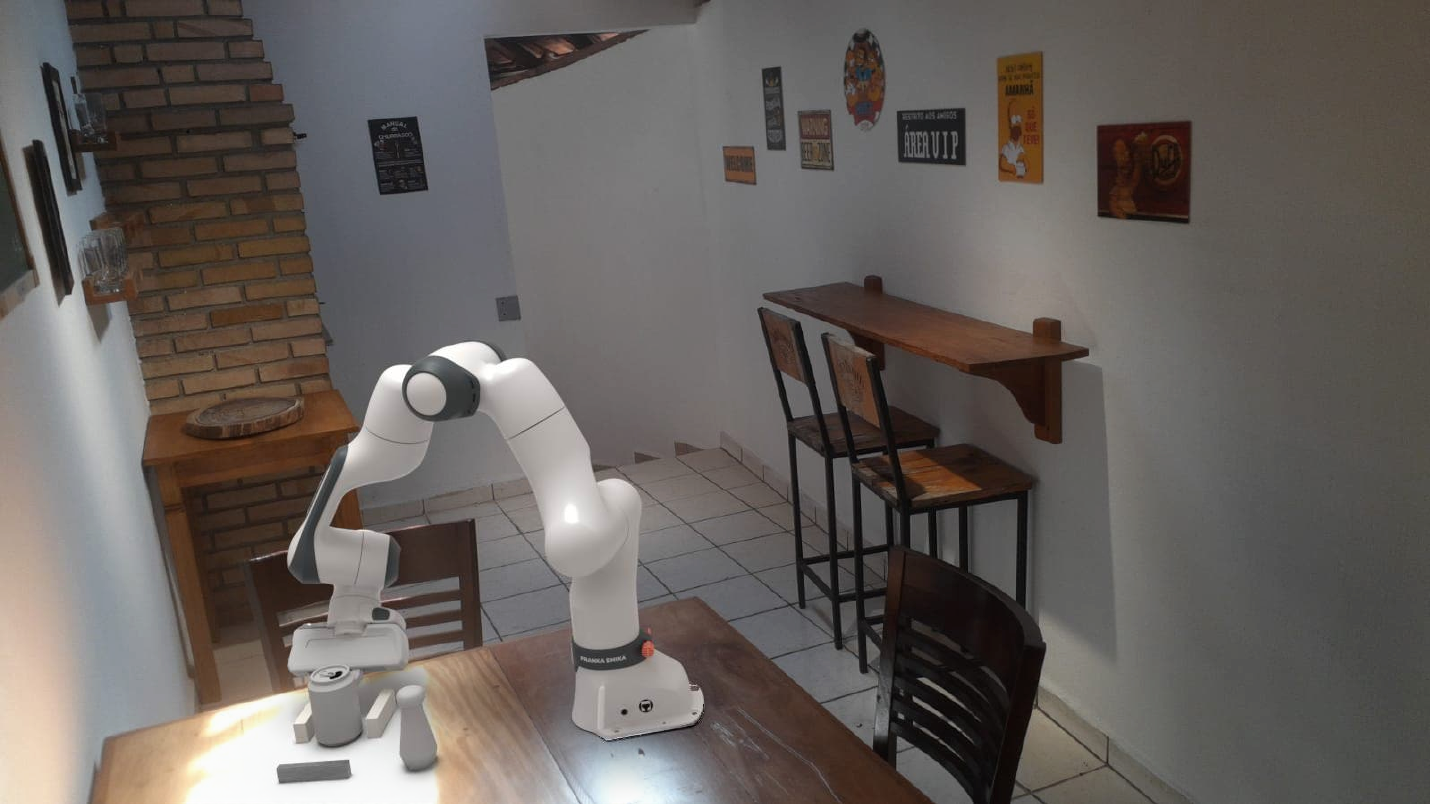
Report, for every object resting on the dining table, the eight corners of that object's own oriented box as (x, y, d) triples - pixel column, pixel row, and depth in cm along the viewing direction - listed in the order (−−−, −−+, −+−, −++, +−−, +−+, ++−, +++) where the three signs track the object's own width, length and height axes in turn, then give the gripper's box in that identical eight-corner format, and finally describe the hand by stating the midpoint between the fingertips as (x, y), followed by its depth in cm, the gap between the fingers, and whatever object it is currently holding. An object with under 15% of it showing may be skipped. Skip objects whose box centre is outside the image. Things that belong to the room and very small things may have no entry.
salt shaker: (446, 759, 172) (436, 685, 169) (419, 777, 168) (408, 701, 165) (421, 750, 176) (410, 677, 173) (393, 768, 171) (382, 693, 168)
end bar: (351, 773, 170) (349, 759, 170) (349, 778, 169) (346, 763, 168) (281, 778, 170) (279, 764, 169) (278, 782, 169) (276, 768, 168)
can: (350, 749, 177) (340, 682, 175) (308, 748, 178) (297, 682, 176) (371, 725, 185) (361, 661, 182) (330, 724, 186) (319, 660, 183)
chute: (396, 707, 190) (393, 689, 189) (379, 737, 180) (377, 718, 180) (316, 712, 190) (313, 694, 189) (296, 743, 180) (293, 724, 180)
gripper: (288, 617, 189) (276, 696, 182) (405, 610, 189) (397, 688, 182) (301, 630, 194) (290, 706, 187) (414, 622, 194) (407, 699, 187)
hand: (343, 697), depth 185 cm, fingers closed, pressing on can
